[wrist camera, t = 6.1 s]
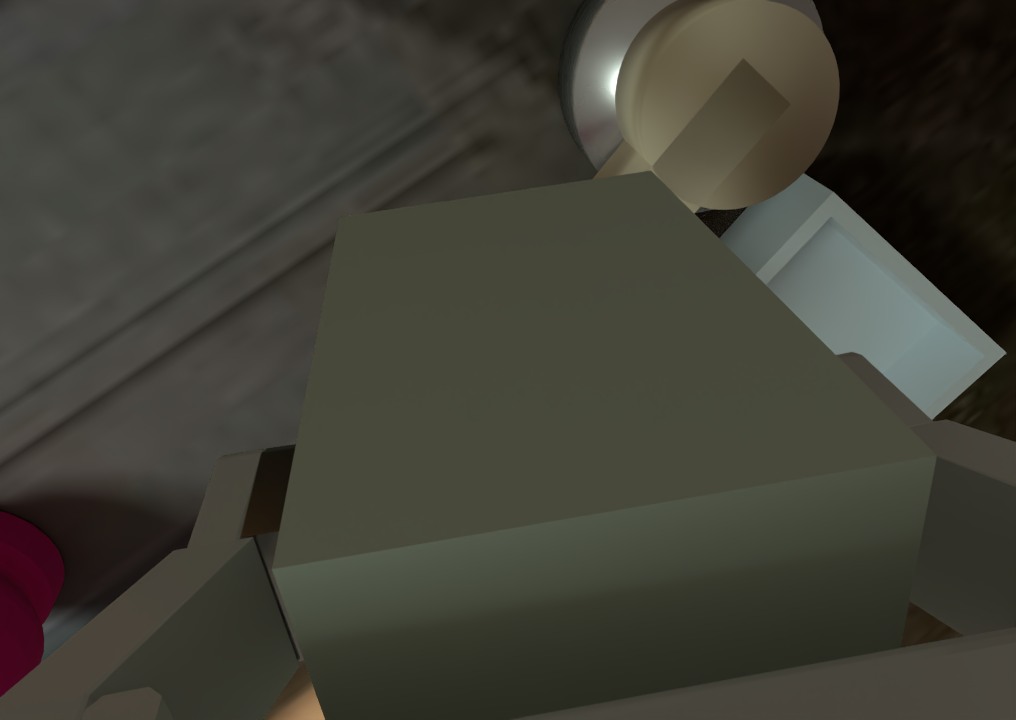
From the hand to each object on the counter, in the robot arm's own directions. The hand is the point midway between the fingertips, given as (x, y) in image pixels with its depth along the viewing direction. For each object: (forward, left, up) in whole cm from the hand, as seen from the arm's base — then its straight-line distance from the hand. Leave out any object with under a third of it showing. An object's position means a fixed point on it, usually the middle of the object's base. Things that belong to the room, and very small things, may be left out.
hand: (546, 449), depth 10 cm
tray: (-16, -1, -20) cm, 26 cm away
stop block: (0, 0, -3) cm, 3 cm away
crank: (-5, -1, -17) cm, 18 cm away
